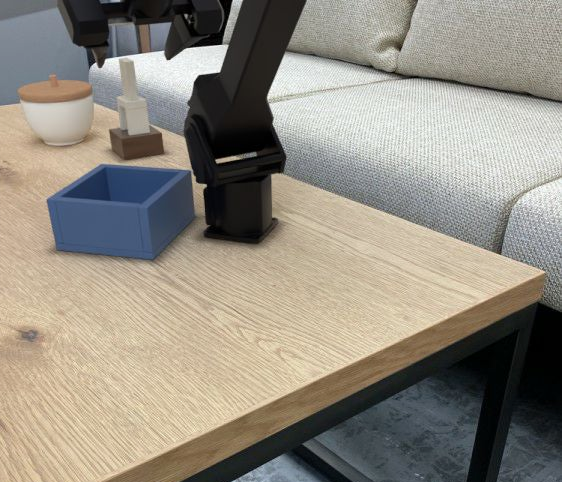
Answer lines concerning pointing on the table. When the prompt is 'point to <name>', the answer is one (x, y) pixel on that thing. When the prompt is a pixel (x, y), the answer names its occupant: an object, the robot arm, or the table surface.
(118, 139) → the block
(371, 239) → the table surface
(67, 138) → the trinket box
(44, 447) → the table surface
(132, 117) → the white bracket
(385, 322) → the table surface
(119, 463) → the table surface
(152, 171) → the box
